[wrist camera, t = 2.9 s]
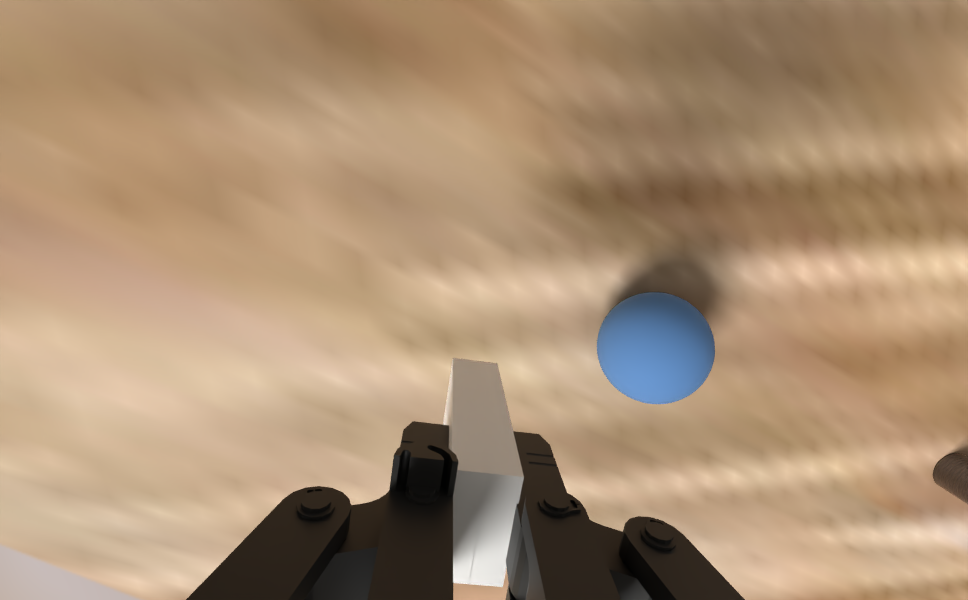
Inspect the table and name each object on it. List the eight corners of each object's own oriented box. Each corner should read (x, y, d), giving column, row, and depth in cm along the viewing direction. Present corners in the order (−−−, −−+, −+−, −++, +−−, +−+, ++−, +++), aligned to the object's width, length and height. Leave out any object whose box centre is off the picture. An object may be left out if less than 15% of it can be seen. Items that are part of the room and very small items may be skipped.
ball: (596, 274, 26) (632, 300, 21) (694, 288, 27) (753, 317, 22) (576, 370, 28) (604, 417, 22) (669, 382, 28) (720, 431, 23)
